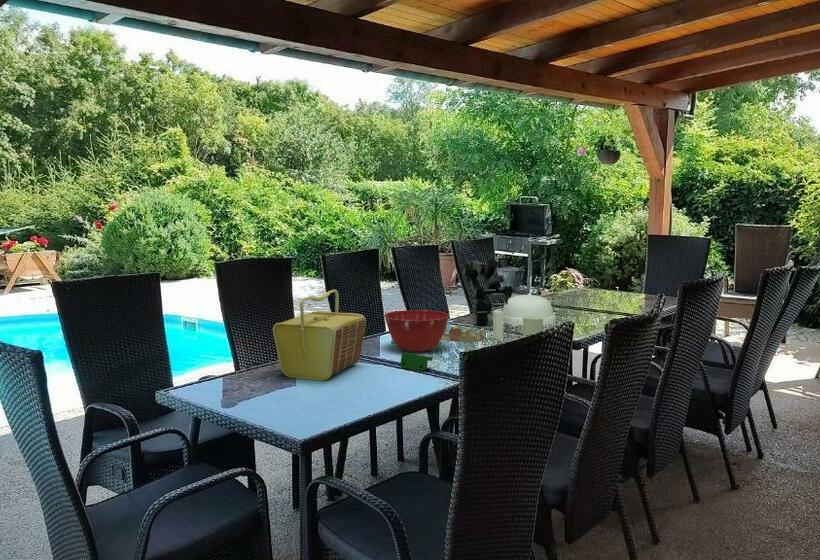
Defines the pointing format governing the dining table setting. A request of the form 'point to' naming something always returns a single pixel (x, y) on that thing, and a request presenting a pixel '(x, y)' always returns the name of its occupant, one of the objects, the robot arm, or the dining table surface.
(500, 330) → the tall off-white box
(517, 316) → the dome cover
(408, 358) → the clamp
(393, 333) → the mixing bowl
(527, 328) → the can
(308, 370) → the picnic basket
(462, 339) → the rack
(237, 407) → the dining table surface
